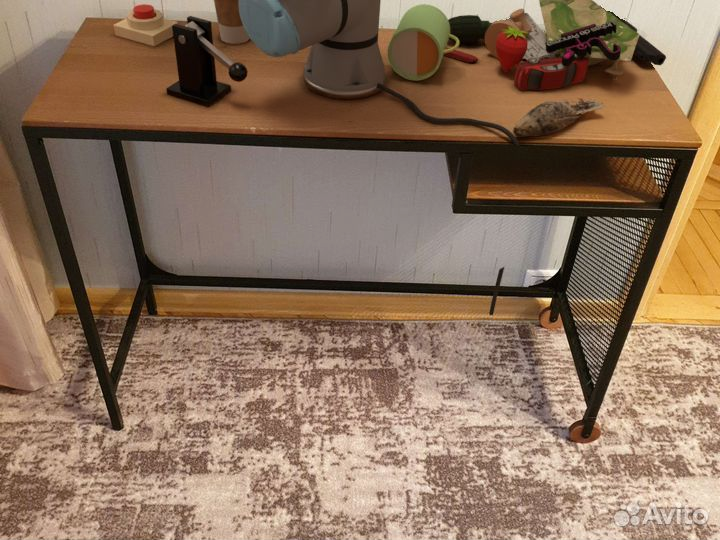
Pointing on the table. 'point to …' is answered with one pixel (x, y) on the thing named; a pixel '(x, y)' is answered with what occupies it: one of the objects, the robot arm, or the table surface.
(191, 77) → the lever bracket
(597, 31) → the logo
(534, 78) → the toy car
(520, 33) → the strawberry
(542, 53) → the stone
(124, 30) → the button housing
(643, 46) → the handgun
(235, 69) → the press lever
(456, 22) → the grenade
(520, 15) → the door knob
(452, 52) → the utility knife
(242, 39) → the coffee cup
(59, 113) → the table surface
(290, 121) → the table surface
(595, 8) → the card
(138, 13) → the stop button
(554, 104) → the bird model
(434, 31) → the mug
